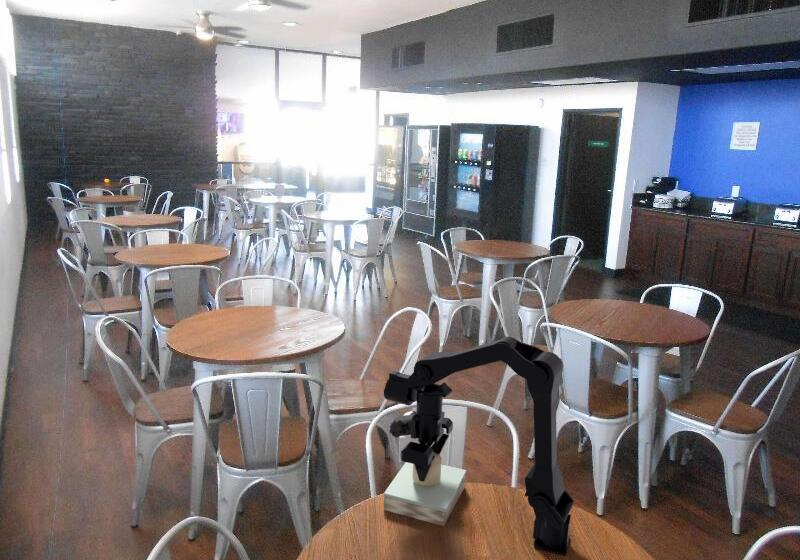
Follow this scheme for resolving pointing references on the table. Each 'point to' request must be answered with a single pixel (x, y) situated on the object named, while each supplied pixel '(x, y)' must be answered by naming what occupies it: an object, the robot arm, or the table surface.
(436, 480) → the cream dome knob
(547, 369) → the robot arm
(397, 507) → the box
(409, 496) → the lid
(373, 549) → the table surface
